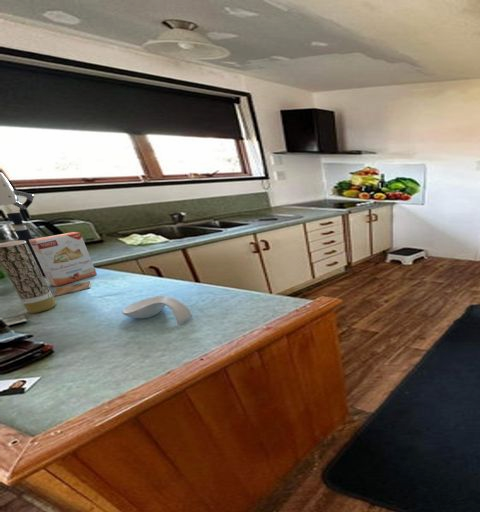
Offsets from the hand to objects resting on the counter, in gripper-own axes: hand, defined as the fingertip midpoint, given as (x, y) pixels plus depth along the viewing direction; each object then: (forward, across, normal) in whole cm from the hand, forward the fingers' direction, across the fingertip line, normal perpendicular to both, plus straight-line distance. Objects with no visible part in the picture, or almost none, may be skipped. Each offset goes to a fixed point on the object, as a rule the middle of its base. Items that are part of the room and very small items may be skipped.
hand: (3, 223), depth 88 cm
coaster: (+32, +6, +17) cm, 36 cm away
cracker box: (+32, +6, +31) cm, 45 cm away
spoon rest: (+32, +28, -40) cm, 58 cm away
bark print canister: (+32, -1, 0) cm, 32 cm away
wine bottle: (+32, -5, +54) cm, 62 cm away
